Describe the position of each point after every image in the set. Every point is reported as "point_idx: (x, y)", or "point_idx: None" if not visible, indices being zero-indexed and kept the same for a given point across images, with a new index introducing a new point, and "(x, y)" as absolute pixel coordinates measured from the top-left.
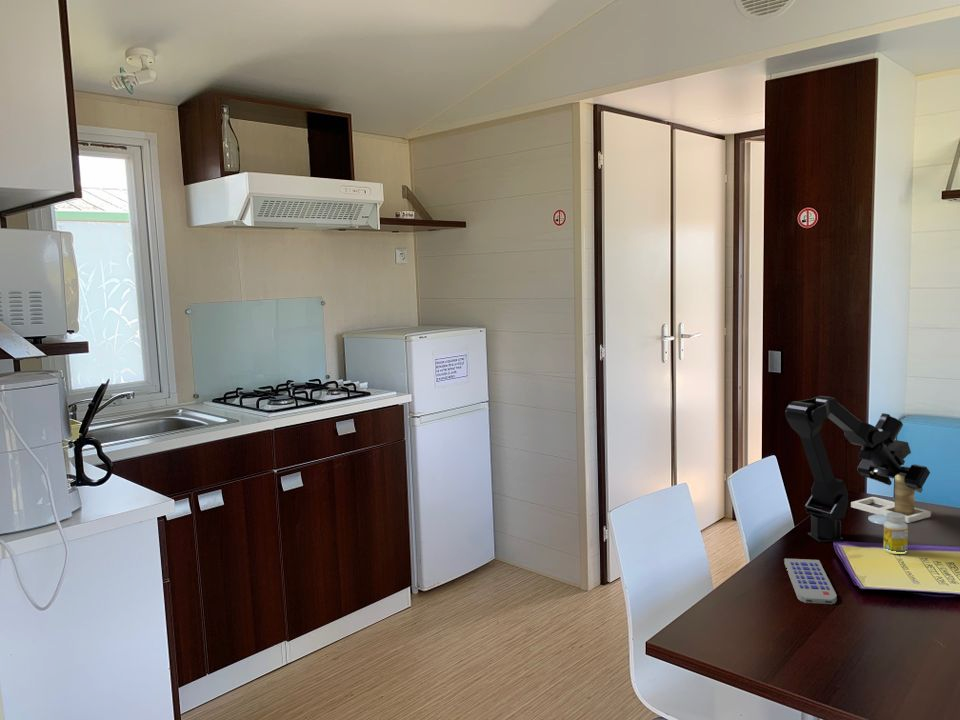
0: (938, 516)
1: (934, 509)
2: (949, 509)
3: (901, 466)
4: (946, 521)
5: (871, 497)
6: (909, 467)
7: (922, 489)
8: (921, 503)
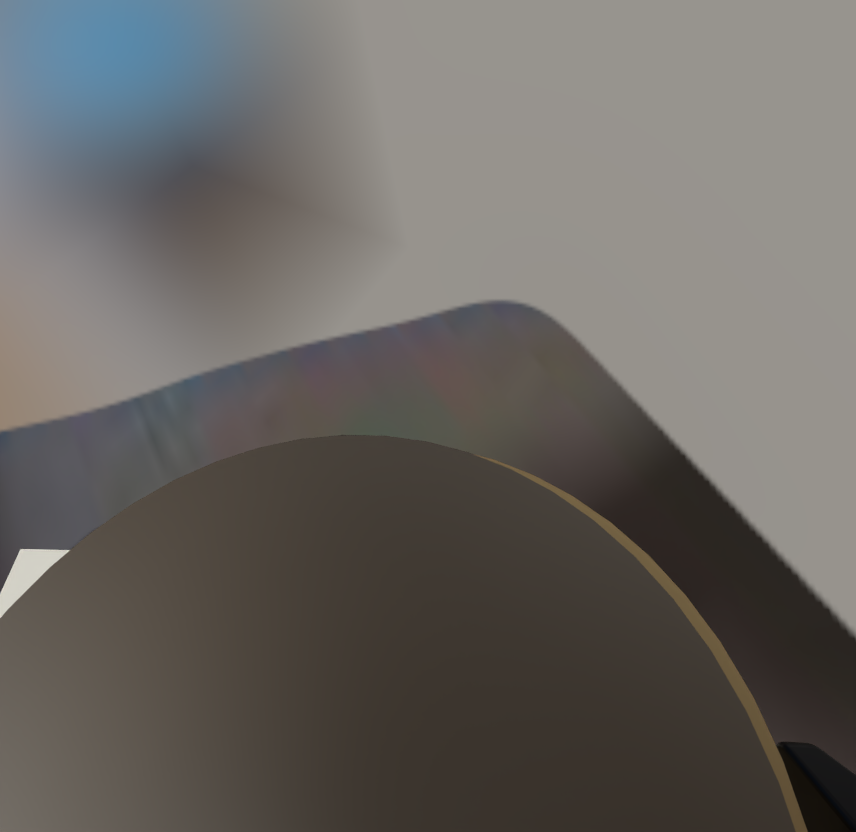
0: (629, 520)
1: (491, 390)
2: (547, 322)
3: (35, 609)
4: (773, 599)
5: (13, 587)
6: (411, 503)
7: (825, 755)
8: (355, 342)
